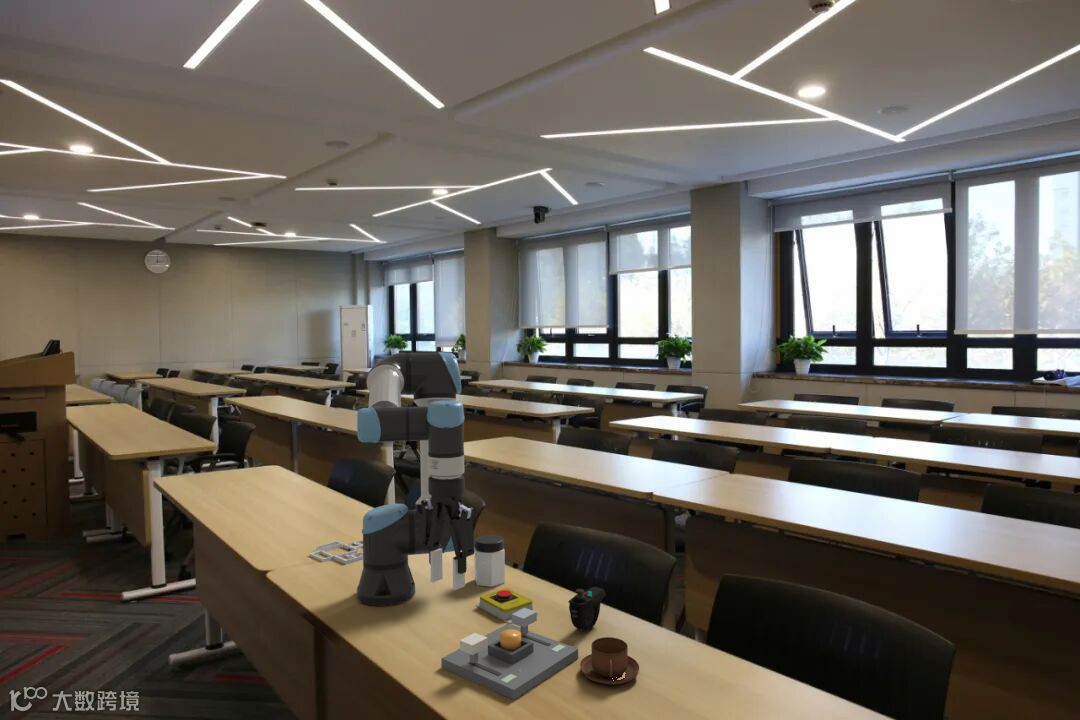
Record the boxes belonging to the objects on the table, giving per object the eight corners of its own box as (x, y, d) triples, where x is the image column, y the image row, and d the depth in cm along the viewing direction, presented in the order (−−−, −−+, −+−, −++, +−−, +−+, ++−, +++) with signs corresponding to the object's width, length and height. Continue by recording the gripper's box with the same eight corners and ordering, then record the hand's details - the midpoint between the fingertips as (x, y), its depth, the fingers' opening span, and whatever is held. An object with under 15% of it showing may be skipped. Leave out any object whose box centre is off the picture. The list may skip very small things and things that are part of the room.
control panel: (441, 667, 142) (441, 648, 142) (508, 632, 158) (508, 615, 158) (514, 700, 129) (513, 679, 129) (578, 657, 146) (578, 639, 146)
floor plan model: (286, 560, 210) (286, 554, 209) (357, 541, 228) (357, 535, 228) (317, 575, 197) (317, 568, 197) (390, 553, 215) (389, 547, 215)
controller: (565, 634, 157) (565, 592, 156) (592, 615, 167) (592, 575, 167) (581, 639, 154) (581, 596, 154) (608, 620, 165) (608, 579, 164)
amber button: (495, 645, 143) (495, 634, 143) (509, 638, 147) (509, 627, 147) (511, 652, 141) (511, 640, 140) (525, 644, 144) (525, 633, 144)
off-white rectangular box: (460, 662, 139) (459, 640, 139) (475, 654, 142) (474, 632, 142) (472, 668, 137) (472, 645, 136) (487, 659, 140) (487, 637, 140)
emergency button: (503, 581, 180) (540, 598, 168) (503, 597, 180) (540, 615, 168) (474, 589, 174) (510, 608, 162) (474, 606, 174) (510, 626, 163)
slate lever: (511, 634, 151) (511, 614, 151) (524, 628, 155) (524, 607, 154) (524, 639, 149) (523, 618, 149) (536, 632, 152) (536, 611, 152)
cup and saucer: (649, 685, 135) (649, 654, 135) (592, 694, 132) (592, 663, 131) (624, 657, 147) (624, 629, 146) (572, 665, 143) (571, 636, 143)
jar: (468, 585, 187) (468, 542, 187) (480, 574, 195) (479, 533, 195) (499, 588, 185) (499, 545, 184) (509, 578, 192) (509, 536, 192)
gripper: (402, 472, 145) (404, 578, 146) (466, 485, 133) (467, 600, 135) (429, 466, 151) (430, 569, 152) (492, 478, 139) (493, 589, 140)
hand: (447, 583), depth 143 cm, fingers open, 6 cm apart
